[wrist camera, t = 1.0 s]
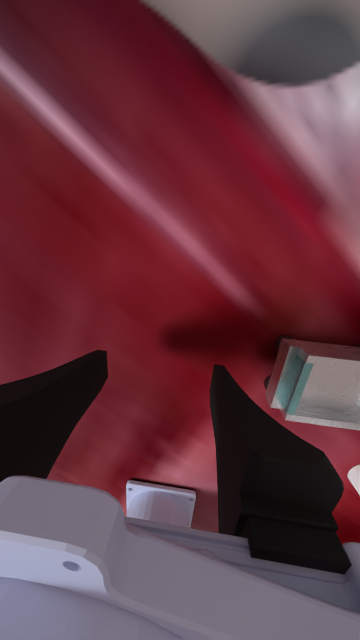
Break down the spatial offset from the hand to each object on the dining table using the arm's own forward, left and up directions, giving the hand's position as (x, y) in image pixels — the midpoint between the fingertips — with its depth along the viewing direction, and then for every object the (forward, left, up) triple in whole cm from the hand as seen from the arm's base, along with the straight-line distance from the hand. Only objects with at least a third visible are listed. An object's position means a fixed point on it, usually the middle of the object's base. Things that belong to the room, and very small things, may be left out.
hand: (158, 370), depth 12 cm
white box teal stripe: (0, -12, -4) cm, 12 cm away
